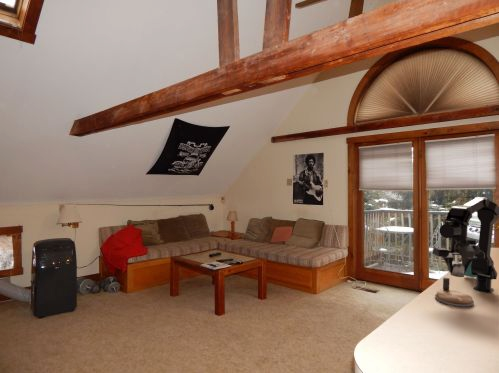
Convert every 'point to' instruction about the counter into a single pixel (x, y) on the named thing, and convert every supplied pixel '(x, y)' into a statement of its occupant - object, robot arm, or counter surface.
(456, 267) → the cover
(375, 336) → the counter surface
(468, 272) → the beverage bottle
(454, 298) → the turntable
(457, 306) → the base
